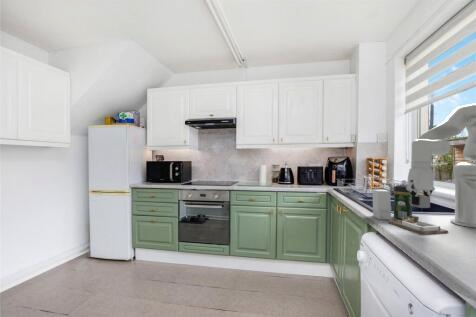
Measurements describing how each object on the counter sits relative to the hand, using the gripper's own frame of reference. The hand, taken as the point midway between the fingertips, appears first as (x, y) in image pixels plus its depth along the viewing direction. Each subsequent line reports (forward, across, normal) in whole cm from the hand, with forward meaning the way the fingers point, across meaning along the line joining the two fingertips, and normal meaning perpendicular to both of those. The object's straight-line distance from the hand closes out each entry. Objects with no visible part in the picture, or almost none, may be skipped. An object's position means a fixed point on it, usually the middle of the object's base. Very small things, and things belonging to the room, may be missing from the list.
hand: (420, 204), depth 107 cm
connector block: (+1, 0, 0) cm, 1 cm away
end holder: (+12, 0, 0) cm, 12 cm away
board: (+12, -1, -3) cm, 12 cm away
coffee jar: (+12, -10, -19) cm, 25 cm away
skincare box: (+12, +2, -21) cm, 24 cm away
